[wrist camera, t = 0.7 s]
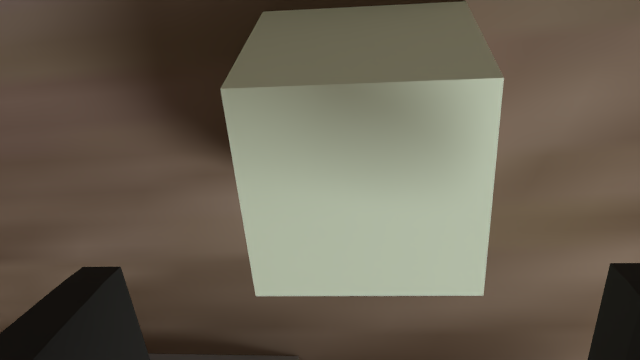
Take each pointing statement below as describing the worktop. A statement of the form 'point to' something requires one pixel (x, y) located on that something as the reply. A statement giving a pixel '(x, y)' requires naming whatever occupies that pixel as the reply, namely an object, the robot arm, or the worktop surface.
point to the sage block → (365, 150)
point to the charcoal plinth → (217, 357)
